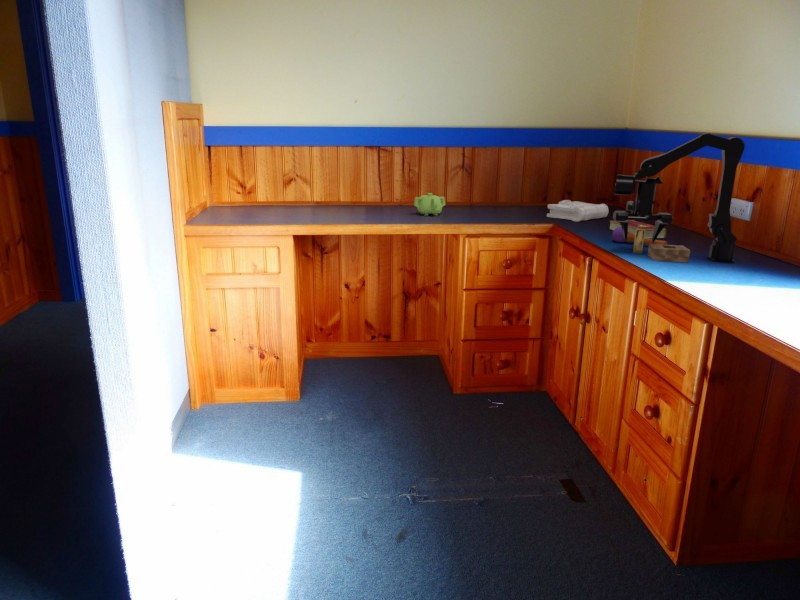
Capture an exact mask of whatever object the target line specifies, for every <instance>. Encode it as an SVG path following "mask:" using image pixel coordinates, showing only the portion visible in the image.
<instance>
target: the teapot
mask: <svg viewBox="0 0 800 600" xmlns="http://www.w3.org/2000/svg"><path fill="white" fill-rule="evenodd" d="M413 206H414V207H416V209H417V211H418V213H420V215H423V216H424V217H429V216H430V215H433V216H436V217H438V216H439V215H438V214H441V213H442V211H443V210H442V209H443V207H444V206H446V198H445V196H438V195H433V192H427V194H426V195H425V194H423V195H420V196H415V197H414V202H413Z"/></svg>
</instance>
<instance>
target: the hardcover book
mask: <svg viewBox="0 0 800 600" xmlns="http://www.w3.org/2000/svg"><path fill="white" fill-rule="evenodd" d="M627 222H628V231H629V232H630V231H631V232H632V233H633V234H635V233H636V229H644V230H645V235H644V238H646V239H652V237H653V233H654V229H655V225H652V224H650V223H645V222H642V221H641V222H640V221H637V220H635V219H627ZM609 223H610V224H609V230H612V231H614V230H615V229H616V228H617V227H621V224H620V223H618V222H617V221H615V220H609ZM666 236H667V229H666V228H665V227H664V228H663V229H662V231H661V232H660V233H659V235H658V237H657V238H656V239H661V238H662V239H666Z"/></svg>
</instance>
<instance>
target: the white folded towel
mask: <svg viewBox="0 0 800 600" xmlns="http://www.w3.org/2000/svg"><path fill="white" fill-rule="evenodd" d="M547 209H548V210H549V213H547V214H546V218H554V219H562V220H563V219H564V220H570V221H573V222H576V223H577V222H578V223H579V222H584V221H588V220H596V219H597V220H598V219H601V218H603V219H604V218H607V216H608V215H609V211H610V210H609V207H608V205H607V204H605V203H600V204H596V203H595V204H594V203H590V202H589V203H588V202H584V201H578V200H577V201H571V200H570V199H564V200H561V201H558V203H552V204H551V203H549V204H547Z"/></svg>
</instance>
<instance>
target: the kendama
mask: <svg viewBox="0 0 800 600" xmlns="http://www.w3.org/2000/svg"><path fill="white" fill-rule="evenodd" d="M611 235H612V238H613V240H614V241H615V242H616V243H625V242H626V243H630V242H634V240H635V234H633V233H632V232H631V231H630V232H629V231H628V233H627V240H626V241H625V240H624V235H623V230H622V227H617V228H616V229H615V230H612V234H611ZM643 244H646V245H647V246H649V244H663V245H668V241H666V240H661V239H660V240H659V239H656V240H655V241H654V243H653V242H652V238H644V242H643Z"/></svg>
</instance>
